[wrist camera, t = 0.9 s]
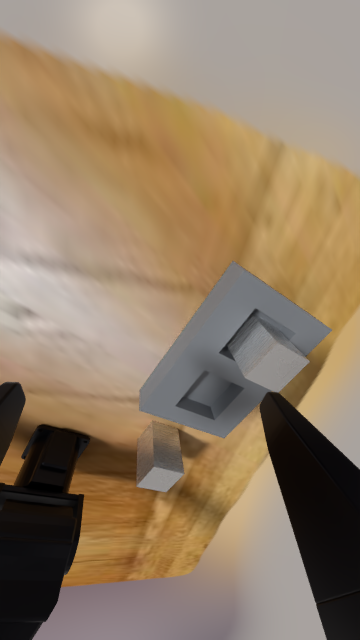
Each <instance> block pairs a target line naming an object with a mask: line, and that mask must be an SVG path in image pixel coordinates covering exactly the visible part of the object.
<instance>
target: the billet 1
mask: <svg viewBox="0 0 360 640" xmlns="http://www.w3.org/2000/svg"><path fill="white" fill-rule="evenodd" d="M183 475H184V468H183V461H182V454H181V448H180V441H179V434H178V428H175V427H172V426H169V425H165V424H162V423H159V422H156V421H153V420H152V421H151V423H150V424H149V425H148V426H147V428H146V429H145V430H144V431H143V433H142V434H141V435H140V436H139V438H138V442H137V481H136V487H141V488H146V489H152V490H157V491H162V492H167V491H168V490H169V489H170V488H171V487H172V486H173V485H174V484H175V483H176V482H177V481H178V480H179V479H180V478H181V477H182V476H183Z"/></svg>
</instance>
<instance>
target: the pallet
mask: <svg viewBox="0 0 360 640" xmlns="http://www.w3.org/2000/svg"><path fill="white" fill-rule="evenodd" d="M251 313H254V314H256V315H257V316H259V317H261V318H262V319H264V320H266V321H267V322H269V323H270V324H272V325H274V326H275V327H276V328H277V329H278V330H279V331H280V332H281V333H282V334H283V335H284V336H285V337H286V338H287V339H288V340H289V341H290V342H291V343H292V344H293V345H294V346H295V347H296V348H297V349H298V350H299V351H300V352H301V353H302V354H303V355H304V356H305V357H306V356H307V355H308V354H309V353H310V352H311V351H312V350H313V349H314V348H315V347H316V346H317V345H318V344H319V343H320V342H321V341H322V340H323V339H324V338H325V337H326V336H327V335H328V334H329V333H330V332H331V331H332V330H331V329H330V328H329V327H327V326H326V325H324V324H323V323H322V322H320V321H319V320H317V319H316V318H315V317H313V316H312V315H310V314H309V313H308V312H306V311H305V310H303V309H302V308H300V307H299V306H297V305H296V304H295V303H293V302H292V301H290V300H289V299H287V298H286V297H284V296H283V295H282V294H280V293H279V292H277V291H276V290H274V289H273V288H271V287H270V286H269V285H267V284H266V283H264V282H263V281H261V280H260V279H259V278H257V277H256V276H254V275H253V274H251V273H250V272H248V271H247V270H246V269H244V268H243V267H241V266H240V265H238V264H237V263H235V262H234V261H232V263H231V264H230V266H229V267H228V268H227V270H226V271H225V273H224V274H223V275H222V277H221V278H220V279H219V281H218V282H217V284H216V285H215V286H214V288H213V289H212V291H211V292H210V293H209V295H208V296H207V298H206V299H205V300H204V302H203V303H202V305H201V306H200V307H199V309H198V310H197V311H196V313H195V314H194V316H193V317H192V318H191V320H190V321H189V323H188V324H187V325H186V327H185V328H184V330H183V331H182V332H181V334H180V335H179V336H178V338H177V339H176V341H175V342H174V343H173V345H172V346H171V348H170V349H169V350H168V352H167V353H166V355H165V356H164V357H163V359H162V360H161V362H160V363H159V364H158V366H157V367H156V368H155V370H154V371H153V373H152V374H151V375H150V377H149V378H148V380H147V381H146V382H145V384H144V385H143V387H142V388H141V389H140V404H139V411H142V412H146V413H149V414H152V415H155V416H158V417H161V418H164V419H167V420H170V421H173V422H176V423H179V424H182V425H185V426H188V427H191V428H194V429H197V430H200V431H203V432H207V433H210V434H213V435H216V436H219V437H222V438H225V437H226V436H227V435H228V434H229V433H230V432H231V431H232V430H233V429H234V428H235V427H236V426H237V425H238V424H239V423H240V422H241V421H242V420H243V419H244V418H245V417H246V416H247V415H248V414H249V413H250V412H251V411H252V410H253V409H254V408H255V407H256V406H257V405H258V404H259V403H260V402H261V401H262V400H263V398H264V396H265V394H266V393H267V392H271V390H269V389H267V388H265V387H263V386H261V385H259V384H256V383H254V382H252V381H250V380H248V379H246V378H245V377H244V376H243V374H242V372H241V370H240V368H239V366H238V365H237V363H236V361H235V359H234V357H233V355H232V354H231V352H230V350H229V348H228V346H227V345H226V343H227V342H228V341H229V340H230V339H231V337H232V336H233V335H234V334H235V332H236V331H237V330H238V329H239V328H240V326H241V325H242V324H243V323H244V321H245V320H246V319H247V318H248V317H249V315H250V314H251Z"/></svg>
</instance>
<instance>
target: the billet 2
mask: <svg viewBox="0 0 360 640" xmlns="http://www.w3.org/2000/svg"><path fill="white" fill-rule="evenodd" d="M226 345H227V346H228V348H229V350H230V352H231V354H232V355H233V357H234V359H235V361H236V363H237V365H238V366H239V368H240V370H241V372H242V374H243V376H244V377H245V378H246V379H248V380H250V381H252V382H254V383H256V384H259V385H261V386H263V387H265V388H267V389H269V390H271V391H274V392H279V391H281V390H282V389H283V388H284V387H285V386H286V385H287V384H288V383H289V382H290V381H291V380H292V379H293V378H294V377H295V376H296V375H297V374H298V373H299V372H300V371H301V370H302V369H303V368H304V367H305V366H306V365H307V364H308V363H309V362H310V361H309V360H308V359H307V358H306V357H305V356H304V355H303V354H302V353H301V352H300V351H299V350H298V349H297V348H296V347H295V346H294V345H293V344H292V343H291V342H290V341H289V340H288V339H287V338H286V337H285V336H284V335H283V334H282V333H281V332H280V331H279V330H278V329H277V328H276V327H275V326H274V325H272V324H270V323H269V322H267V321H266V320H264V319H262V318H261V317H259V316H257V315H256V314H254V313H251V314H250V315H249V317H248V318H247V319H246V320H245V321H244V323H243V324H242V325H241V326H240V328H239V329H238V330H237V331H236V332H235V334H234V335H233V336H232V337H231V339H230V340H229V341H228V342H227V343H226Z"/></svg>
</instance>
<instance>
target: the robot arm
mask: <svg viewBox="0 0 360 640" xmlns="http://www.w3.org/2000/svg"><path fill="white" fill-rule="evenodd" d="M25 400H26V398H25V395H24V392H23V389H22V386H21V384H20V383H19V382H5V383H3V384H2V385H0V465H1V463H2V461H3V459H4V457H5V455H6V452H7V450H8V448H9V446H10V443H11V440H12V438H13V435H14V432H15V429H16V427H17V424H18V421H19V418H20V416H21V413H22V410H23V408H24V405H25ZM260 413H261V418H262V423H263V428H264V432H265V437H266V442H267V447H268V451H269V454H270V457H271V461H272V464H273V467H274V470H275V474H276V477H277V480H278V483H279V486H280V489H281V493H282V496H283V499H284V502H285V506H286V509H287V512H288V515H289V519H290V522H291V525H292V528H293V532H294V535H295V538H296V541H297V544H298V547H299V550H300V554H301V557H302V560H303V564H304V567H305V570H306V573H307V576H308V580H309V583H310V586H311V589H312V593H313V596H314V599H315V602H316V606H317V609H318V612H319V616H320V619H321V622H322V626H323V629H324V632H325V635H326V638H327V640H360V469H359V468H358V467H356V466H355V465H354V464H353V463H352V462H351V461H350V460H349V459H348V458H347V457H346V456H345V455H344V454H343V453H342V452H341V451H339V449H338V448H336V447H335V446H334V445H333V444H332V443H331V442H330V441H329V440H328V439H327V438H326V437H325V436H324V435H323V434H322V433H321V432H319V431H318V430H317V429H316V428H315V427H314V426H313V425H312V424H311V423H310V422H309V421H308V420H307V419H306V418H305V417H304V416H303V415H301V413H300V412H298V411H297V410H296V409H295V408H294V407H293V406H292V405H291V404H290V403H289V402H288V401H287V400H286V399H285V398H284V397H283V396H282V395H281V394H279V393H278V392H267V393H266V394H265V396H264V398H263V400H262V402H261V404H260ZM89 442H90V438H89V437H87V436H83V435H79V434H75V433H72V432H68V431H64V430H60V429H56V428H52V427H49V426H45V425H39V426H38V427H37V428H36V430H35V432H34V434H33V436H32V438H31V439H30V441H29V443H28V445H27V447H26V449H25V450H24V452H23V454H22V456H21V458H22V459H25V461H24V463H23V465H22V467H21V470H20V472H19V474H18V476H17V478H16V481H15V483H14V485H6V484H5V483H0V640H32V639H33V637H34V635H35V634H36V632H37V631H38V629H39V628H40V626H41V624H42V623H43V622H46V620H47V619H48V617H49V616H50V614H51V612H52V611H53V609H54V607H55V605H56V604H57V601H58V597H59V592H60V588H61V584H62V581H63V577H64V575H66V574H67V573H68V571H69V570H70V567H71V565H72V562H73V560H74V557H75V553H76V550H77V546H78V542H79V537H80V530H81V520H82V510H83V500H84V494H79V495H76V494H69V493H68V492H69V488H70V484H71V480H72V477H73V473H74V469H75V465H76V461H77V460H78V458H79V457H80V455H81V454H82V452H83V451H84V449H85V448H86V447H87V445H88V444H89Z"/></svg>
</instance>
